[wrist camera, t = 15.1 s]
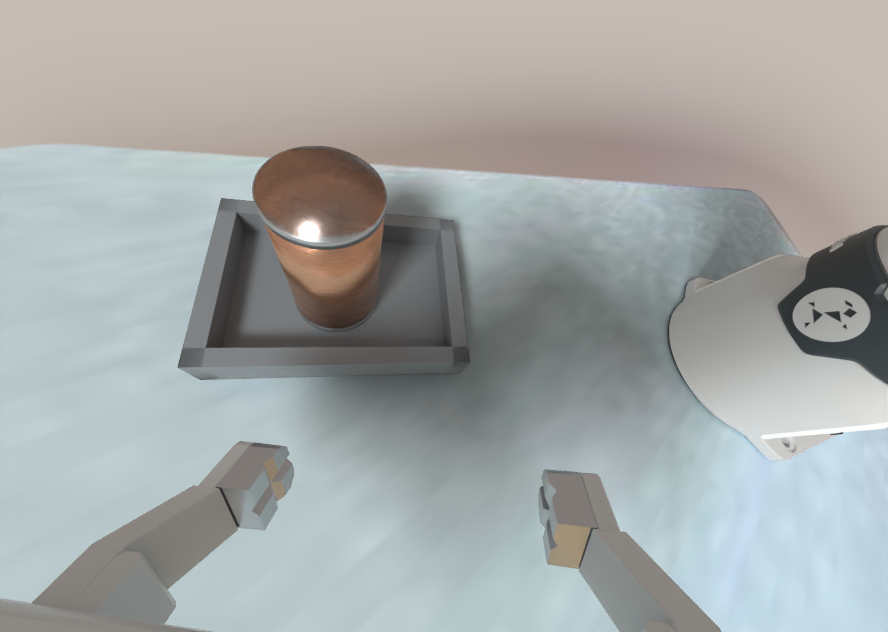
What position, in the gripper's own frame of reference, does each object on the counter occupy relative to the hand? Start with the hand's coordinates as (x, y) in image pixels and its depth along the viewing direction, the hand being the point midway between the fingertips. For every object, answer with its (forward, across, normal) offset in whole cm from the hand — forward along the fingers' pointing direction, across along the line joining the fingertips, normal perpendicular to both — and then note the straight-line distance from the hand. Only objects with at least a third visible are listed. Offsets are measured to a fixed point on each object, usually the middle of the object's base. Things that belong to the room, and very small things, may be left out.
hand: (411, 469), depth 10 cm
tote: (+16, +9, +1) cm, 19 cm away
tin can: (+15, +9, +1) cm, 18 cm away
